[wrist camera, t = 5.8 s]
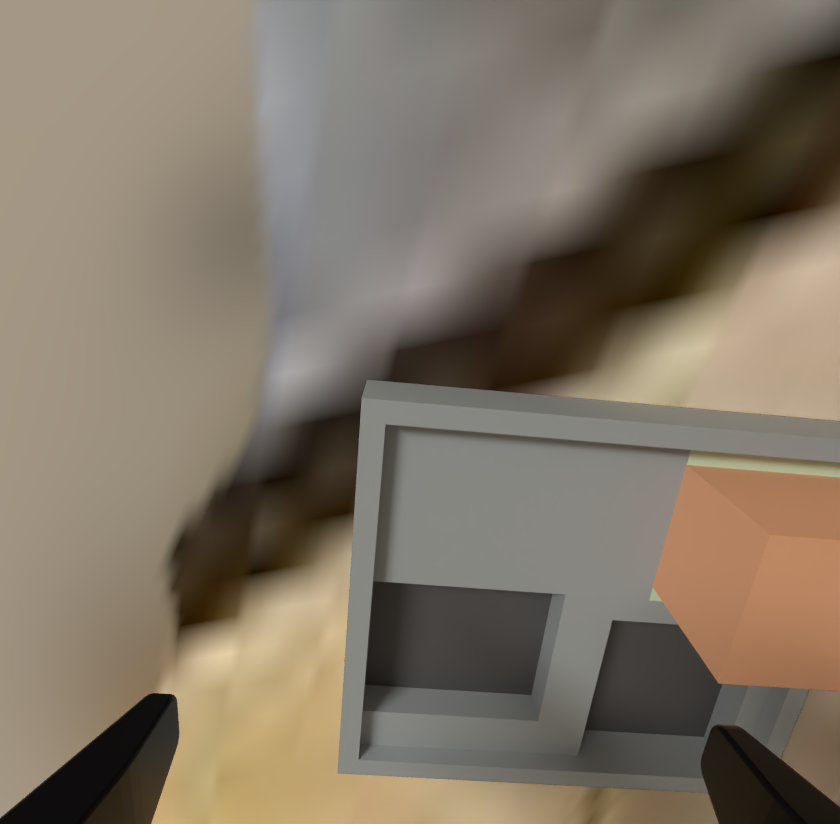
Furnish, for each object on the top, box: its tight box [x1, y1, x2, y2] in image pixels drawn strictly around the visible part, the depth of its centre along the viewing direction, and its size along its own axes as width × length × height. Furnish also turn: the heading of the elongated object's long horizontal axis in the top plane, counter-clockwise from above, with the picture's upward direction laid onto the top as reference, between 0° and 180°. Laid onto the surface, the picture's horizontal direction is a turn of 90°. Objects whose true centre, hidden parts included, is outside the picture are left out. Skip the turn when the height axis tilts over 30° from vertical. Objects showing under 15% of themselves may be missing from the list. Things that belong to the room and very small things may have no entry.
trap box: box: [338, 380, 840, 793], centre depth 21 cm, size 18×16×2 cm
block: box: [653, 465, 840, 691], centre depth 17 cm, size 6×5×4 cm
